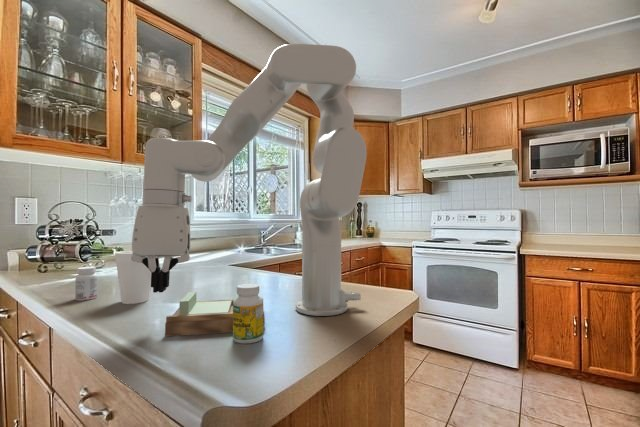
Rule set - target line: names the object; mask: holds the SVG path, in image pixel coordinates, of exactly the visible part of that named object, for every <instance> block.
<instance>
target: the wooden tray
mask: <svg viewBox="0 0 640 427" xmlns="http://www.w3.org/2000/svg"><path fill="white" fill-rule="evenodd" d="M234 299H235V298H234ZM234 299H232V298H231V299H213V300H212V299H211V300H196V302H213V301H232V304H231V308H230V311H229V313H212V314H194V315H179V314H180V306H179V307H178V308H177V310H176V311H175V312H174V313H173V314H172V315H166V317H165V323H164V324H165V325H164V326H165V329H164V332H165V334H164V337H177V335H178V336H191V334H195V335H207V334H221V333H222V334H224V333H233V301H234ZM262 299H263V300H264V298H263V297H262ZM264 330H265V308H264V306H263V331H264Z"/></svg>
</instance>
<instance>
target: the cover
mask: <svg viewBox="0 0 640 427" xmlns="http://www.w3.org/2000/svg"><path fill="white" fill-rule="evenodd" d="M196 301H197V291H188V292H187V293H186V294H185V295H184V296H183V298H181V300H180V301H179V307H180V314H179V315H194V314H212V313H229V311H230V308H231V304H232V301H213V302H196Z"/></svg>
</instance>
